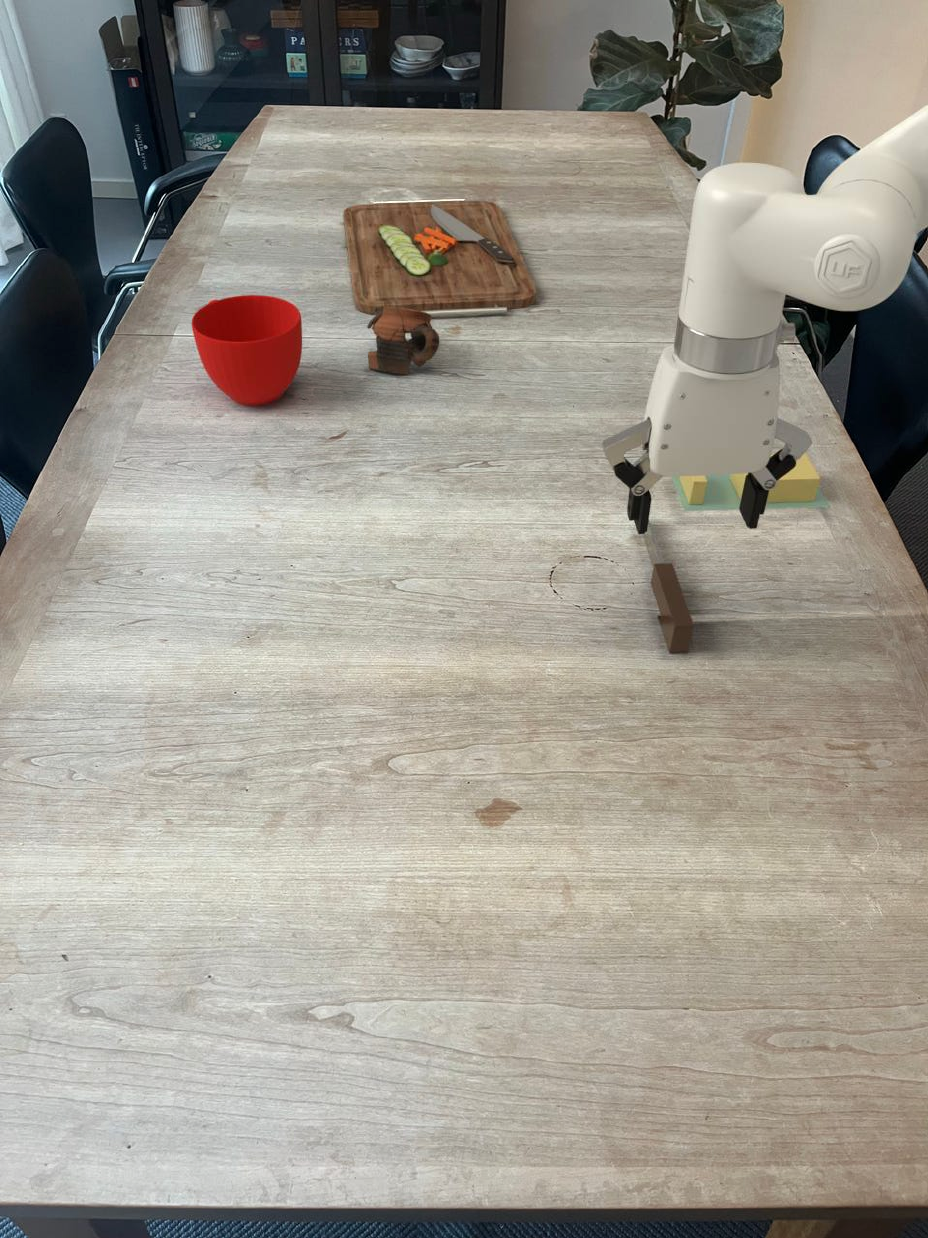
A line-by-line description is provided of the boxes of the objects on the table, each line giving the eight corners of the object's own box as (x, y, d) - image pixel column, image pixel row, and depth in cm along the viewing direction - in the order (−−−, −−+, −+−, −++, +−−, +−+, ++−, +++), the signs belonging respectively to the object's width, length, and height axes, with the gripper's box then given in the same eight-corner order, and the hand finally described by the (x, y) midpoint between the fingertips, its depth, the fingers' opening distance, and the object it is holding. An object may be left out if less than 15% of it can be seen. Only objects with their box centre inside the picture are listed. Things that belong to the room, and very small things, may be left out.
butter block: (799, 475, 112) (806, 452, 110) (814, 501, 108) (821, 478, 106) (729, 477, 112) (734, 454, 110) (741, 503, 108) (747, 480, 106)
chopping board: (342, 207, 174) (340, 189, 172) (493, 202, 177) (494, 184, 175) (356, 322, 141) (355, 301, 139) (543, 313, 144) (544, 293, 142)
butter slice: (692, 478, 111) (696, 455, 109) (702, 504, 108) (707, 481, 106) (678, 478, 111) (683, 455, 109) (688, 504, 108) (693, 481, 106)
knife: (646, 528, 106) (651, 502, 104) (688, 652, 92) (694, 625, 90) (630, 529, 106) (634, 502, 104) (669, 653, 92) (674, 626, 89)
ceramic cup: (263, 347, 135) (254, 275, 128) (327, 398, 125) (321, 323, 118) (174, 373, 129) (159, 300, 123) (233, 430, 119) (221, 353, 113)
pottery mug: (348, 367, 132) (355, 302, 131) (398, 375, 139) (405, 314, 138) (412, 374, 125) (420, 306, 123) (462, 382, 132) (470, 318, 130)
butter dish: (807, 477, 113) (809, 470, 113) (828, 514, 108) (830, 506, 108) (668, 481, 113) (670, 473, 112) (682, 518, 107) (684, 510, 107)
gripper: (819, 315, 80) (777, 493, 91) (604, 323, 79) (589, 502, 90) (852, 358, 74) (803, 543, 85) (621, 367, 73) (602, 552, 85)
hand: (693, 522), depth 88 cm, fingers open, 9 cm apart
